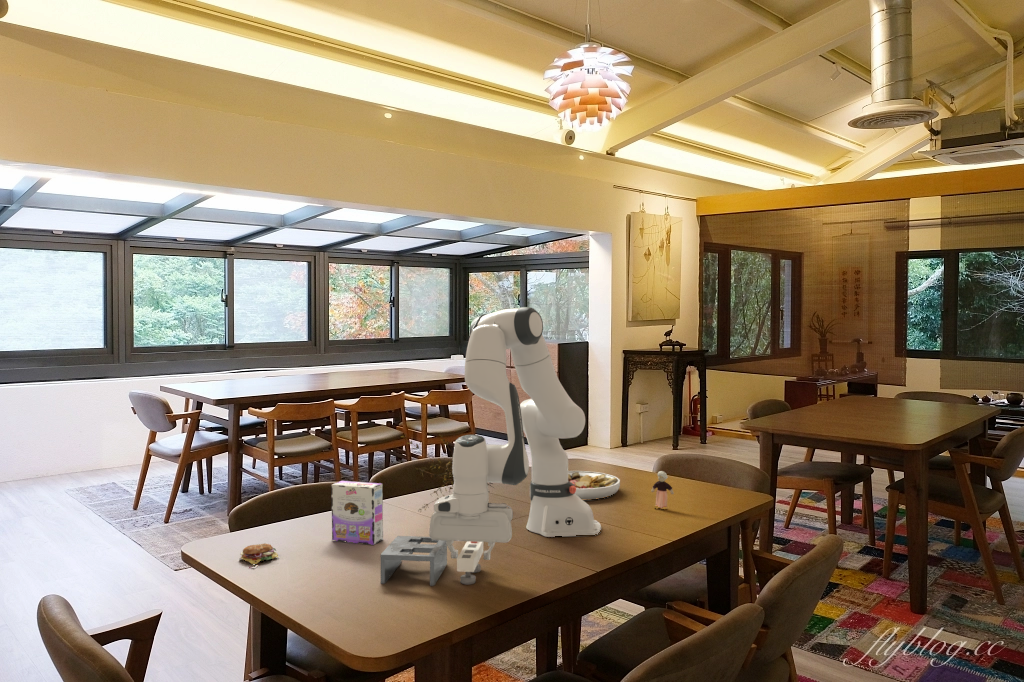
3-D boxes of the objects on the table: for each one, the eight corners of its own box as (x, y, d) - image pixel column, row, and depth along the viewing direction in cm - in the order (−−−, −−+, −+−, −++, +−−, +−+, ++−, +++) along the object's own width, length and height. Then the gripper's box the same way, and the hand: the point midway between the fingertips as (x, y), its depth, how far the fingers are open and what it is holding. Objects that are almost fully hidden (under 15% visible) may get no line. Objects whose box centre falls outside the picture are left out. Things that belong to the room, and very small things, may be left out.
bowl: (565, 480, 281) (565, 460, 281) (634, 490, 264) (634, 469, 263) (521, 495, 257) (521, 473, 257) (594, 507, 239) (594, 484, 239)
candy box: (384, 539, 203) (383, 482, 203) (373, 546, 198) (373, 487, 197) (342, 535, 208) (341, 479, 207) (330, 541, 202) (330, 483, 202)
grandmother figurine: (649, 509, 236) (649, 471, 236) (651, 506, 239) (651, 469, 239) (672, 511, 233) (673, 473, 233) (674, 508, 237) (675, 470, 236)
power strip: (483, 565, 181) (483, 537, 181) (473, 587, 166) (473, 556, 166) (468, 565, 182) (467, 537, 182) (457, 586, 167) (456, 556, 167)
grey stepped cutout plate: (446, 564, 182) (446, 537, 182) (434, 585, 167) (434, 556, 167) (397, 562, 184) (397, 535, 184) (380, 583, 169) (380, 554, 169)
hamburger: (218, 564, 184) (218, 541, 184) (266, 550, 195) (266, 529, 195) (247, 576, 175) (247, 552, 175) (296, 561, 186) (296, 538, 186)
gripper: (514, 500, 176) (514, 555, 176) (433, 498, 178) (433, 552, 178) (511, 507, 169) (511, 564, 170) (427, 504, 172) (427, 561, 172)
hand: (470, 558), depth 174 cm, fingers open, 7 cm apart
